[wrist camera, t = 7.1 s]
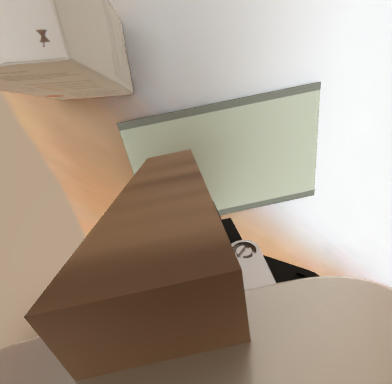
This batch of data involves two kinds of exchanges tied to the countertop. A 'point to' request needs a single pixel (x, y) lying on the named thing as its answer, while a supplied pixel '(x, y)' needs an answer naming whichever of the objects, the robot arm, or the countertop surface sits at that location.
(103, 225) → the slab
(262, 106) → the mat
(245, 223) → the countertop surface
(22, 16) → the small box
